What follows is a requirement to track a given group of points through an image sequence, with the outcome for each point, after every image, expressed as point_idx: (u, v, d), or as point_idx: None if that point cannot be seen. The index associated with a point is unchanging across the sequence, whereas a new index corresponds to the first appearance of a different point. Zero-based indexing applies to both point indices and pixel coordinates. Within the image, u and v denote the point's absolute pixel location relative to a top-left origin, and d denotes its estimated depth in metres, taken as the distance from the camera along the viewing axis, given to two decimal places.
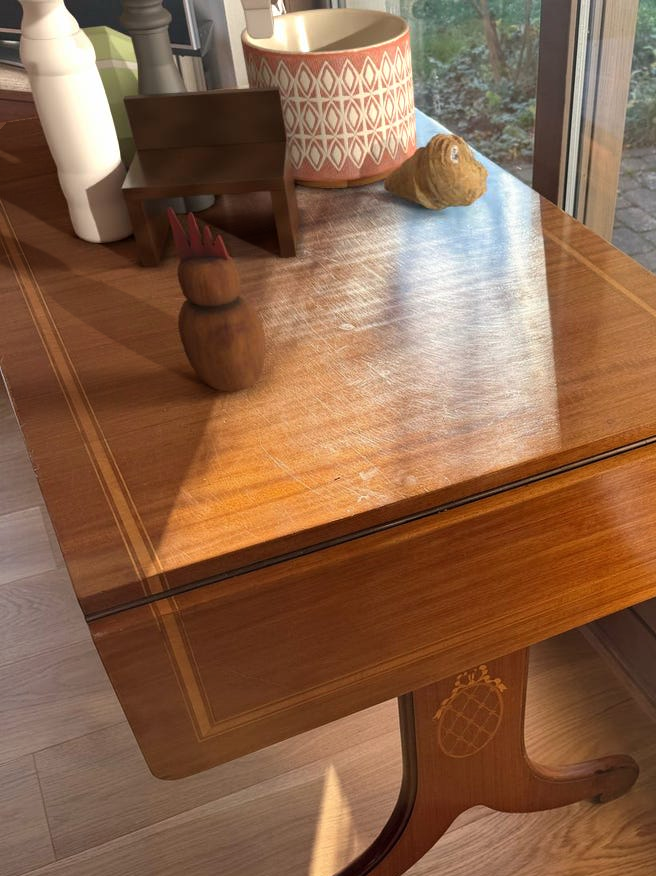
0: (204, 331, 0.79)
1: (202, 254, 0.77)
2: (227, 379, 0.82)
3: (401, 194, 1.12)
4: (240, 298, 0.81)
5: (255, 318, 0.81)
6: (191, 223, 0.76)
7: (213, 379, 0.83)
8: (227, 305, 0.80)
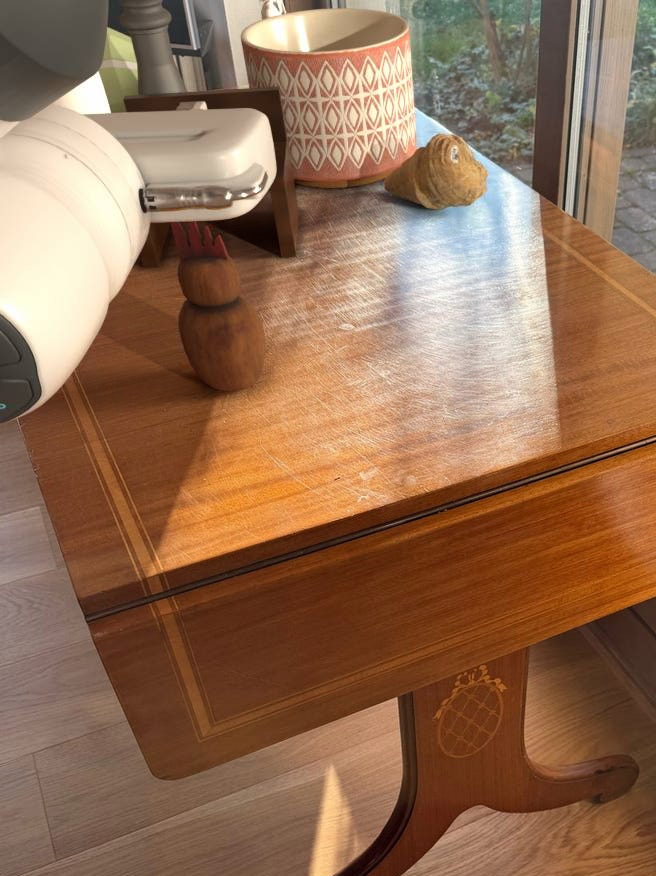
0: (204, 331, 0.79)
1: (202, 254, 0.77)
2: (227, 379, 0.82)
3: (401, 194, 1.12)
4: (240, 298, 0.81)
5: (255, 318, 0.81)
6: (191, 223, 0.76)
7: (213, 379, 0.83)
8: (227, 305, 0.80)
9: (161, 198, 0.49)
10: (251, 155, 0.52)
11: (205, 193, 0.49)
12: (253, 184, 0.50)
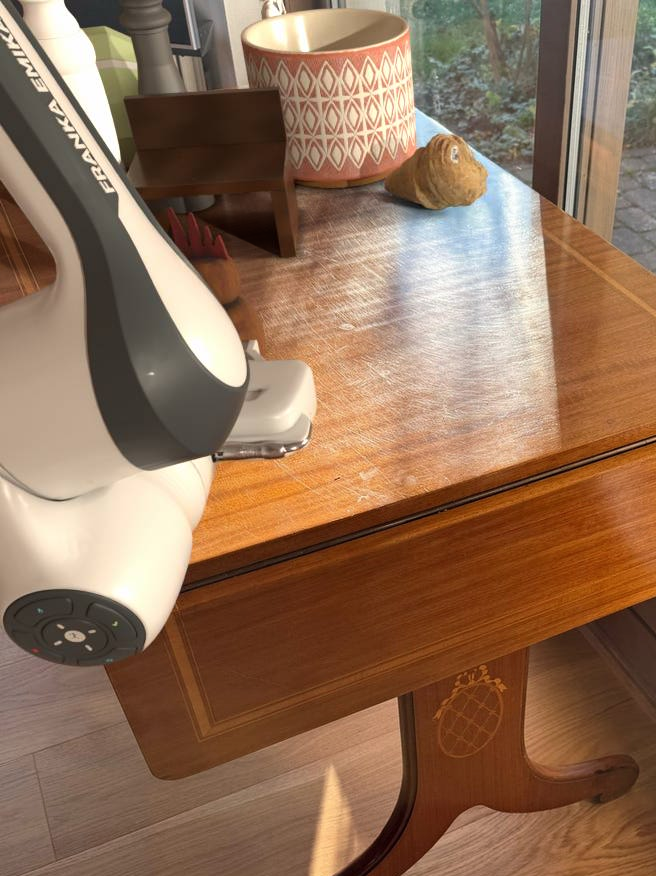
0: None
1: (202, 254, 0.77)
2: None
3: (401, 194, 1.12)
4: (240, 298, 0.81)
5: (255, 318, 0.81)
6: (191, 223, 0.76)
7: None
8: (227, 305, 0.80)
9: (228, 453, 0.62)
10: (299, 409, 0.64)
11: (264, 449, 0.62)
12: (302, 439, 0.62)
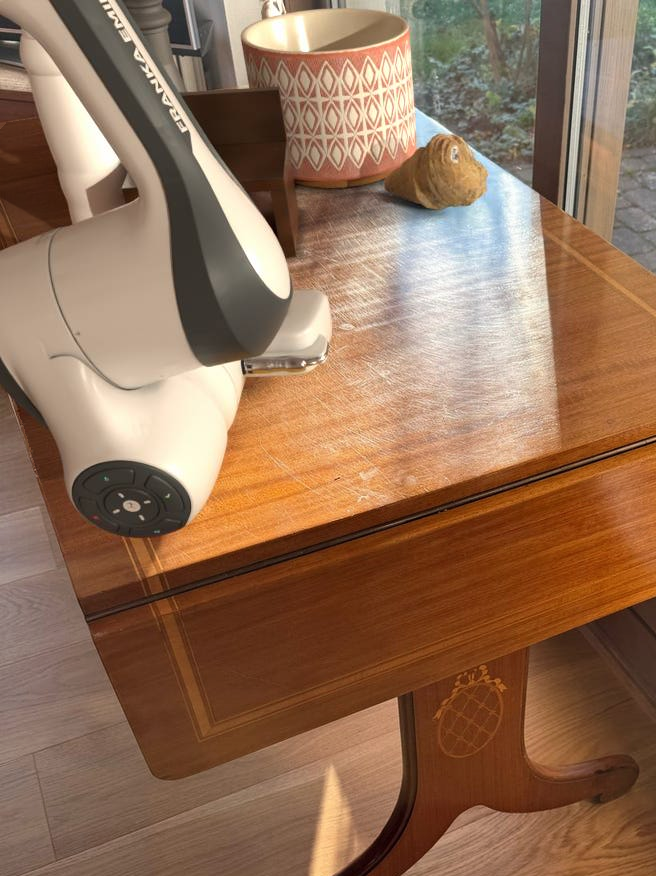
0: None
1: None
2: None
3: (401, 194, 1.12)
4: None
5: None
6: None
7: None
8: None
9: (256, 366, 0.70)
10: (317, 330, 0.73)
11: (287, 363, 0.70)
12: (321, 354, 0.71)
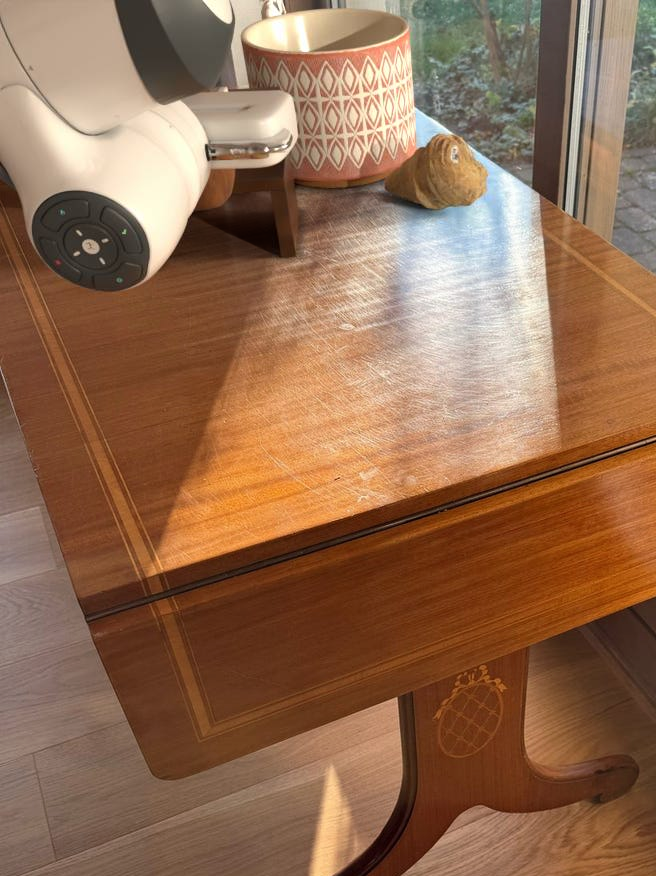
0: None
1: None
2: None
3: (401, 194, 1.12)
4: None
5: None
6: None
7: None
8: None
9: (220, 150, 0.72)
10: (281, 122, 0.74)
11: (250, 148, 0.72)
12: (283, 142, 0.73)
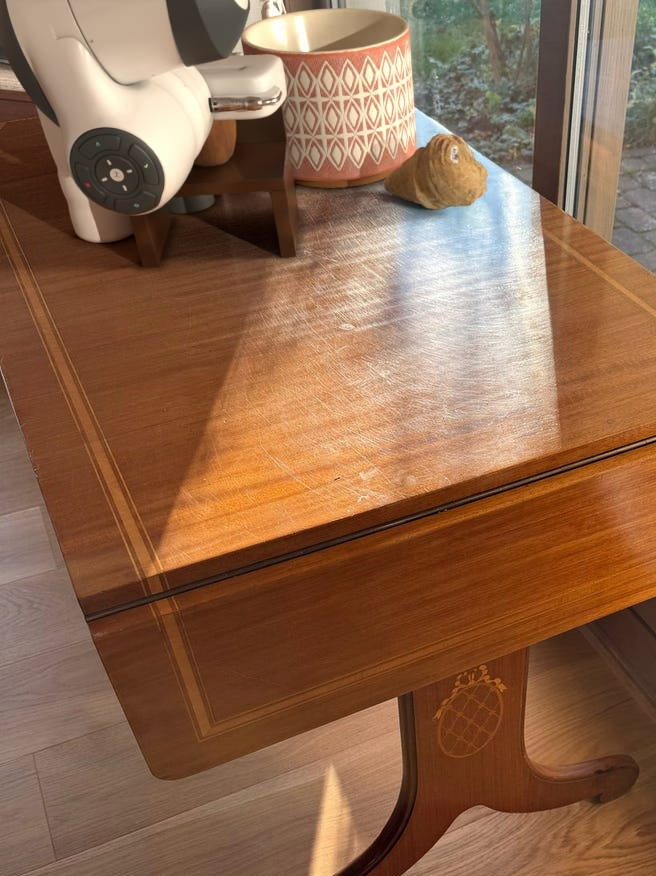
0: None
1: None
2: (203, 152, 0.98)
3: (401, 194, 1.12)
4: None
5: None
6: None
7: None
8: None
9: (221, 103, 0.86)
10: (272, 80, 0.88)
11: (246, 100, 0.86)
12: (274, 96, 0.87)
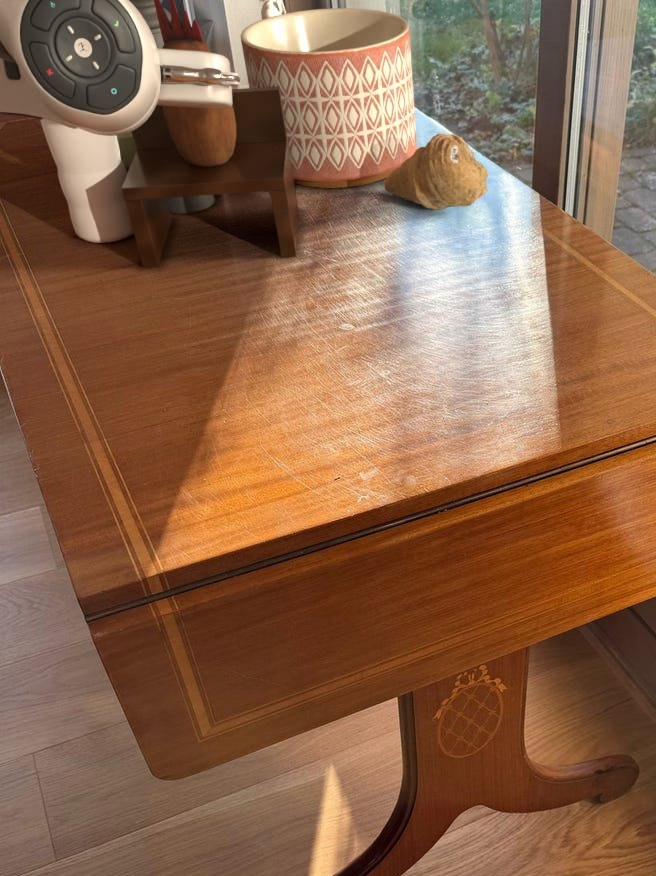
0: None
1: (181, 36, 0.93)
2: (203, 152, 0.98)
3: (401, 194, 1.12)
4: None
5: None
6: (172, 7, 0.92)
7: (191, 152, 0.99)
8: None
9: (175, 70, 0.74)
10: (227, 68, 0.78)
11: (205, 70, 0.75)
12: (235, 73, 0.76)
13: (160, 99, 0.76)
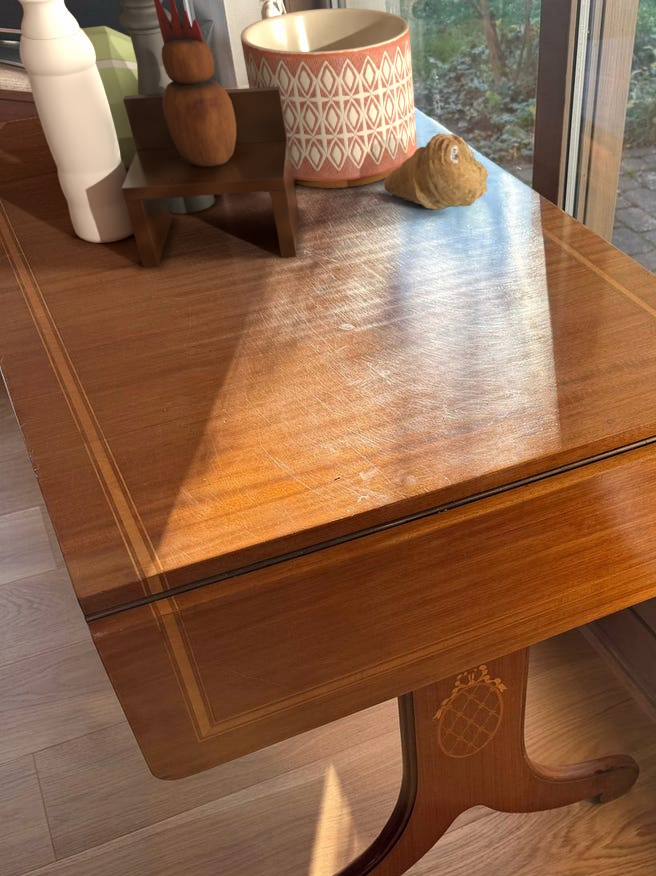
0: (183, 105, 0.95)
1: (181, 36, 0.93)
2: (203, 152, 0.98)
3: (401, 194, 1.12)
4: (214, 81, 0.97)
5: (226, 98, 0.97)
6: (172, 7, 0.92)
7: (191, 152, 0.99)
8: (202, 84, 0.95)
9: None
10: None
11: None
12: None
13: None
